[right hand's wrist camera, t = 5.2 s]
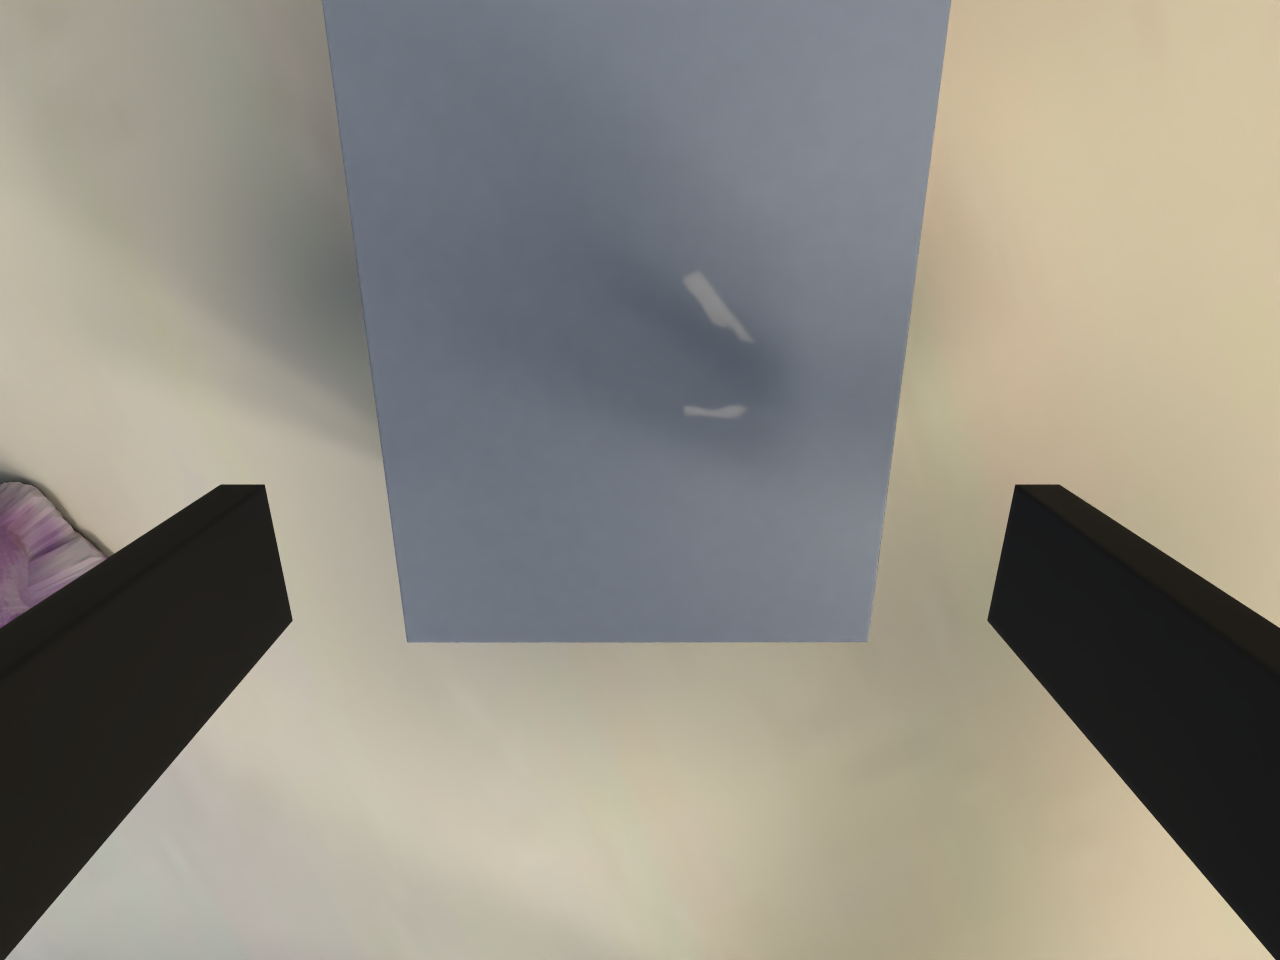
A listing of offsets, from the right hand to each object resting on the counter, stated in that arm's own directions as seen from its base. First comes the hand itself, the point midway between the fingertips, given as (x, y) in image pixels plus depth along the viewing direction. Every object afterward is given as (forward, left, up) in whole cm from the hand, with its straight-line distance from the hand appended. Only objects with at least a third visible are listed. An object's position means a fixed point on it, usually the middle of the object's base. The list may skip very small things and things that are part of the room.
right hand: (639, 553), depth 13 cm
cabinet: (+3, -6, -12) cm, 14 cm away
